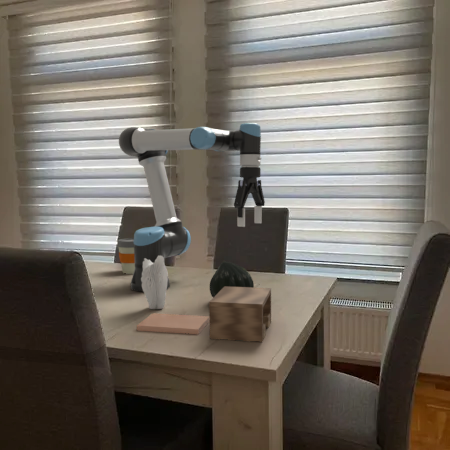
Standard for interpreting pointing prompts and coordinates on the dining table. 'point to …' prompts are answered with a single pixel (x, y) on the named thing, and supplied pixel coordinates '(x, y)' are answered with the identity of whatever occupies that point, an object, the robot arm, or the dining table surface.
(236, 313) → the shelf
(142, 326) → the tile
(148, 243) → the robot arm
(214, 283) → the squash
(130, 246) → the reusable coffee cup
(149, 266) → the shell sculpture
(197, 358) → the dining table surface
